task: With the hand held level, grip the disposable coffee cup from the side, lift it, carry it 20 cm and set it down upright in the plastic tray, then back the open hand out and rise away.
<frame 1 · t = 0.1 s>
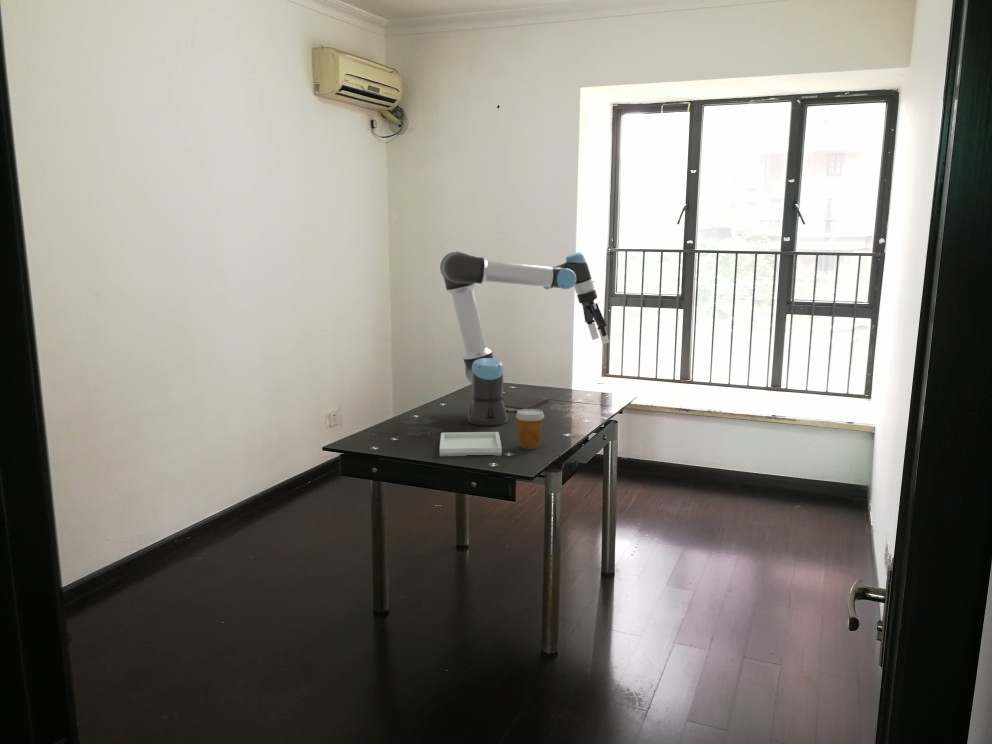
hand: (600, 341, 304), 28 cm above the table, tool tilted 20°, fingers open, 13 cm apart
tray: (470, 447, 252), on the table
disposable coffee cup: (529, 447, 253), on the table
hardcover book: (520, 407, 314), on the table
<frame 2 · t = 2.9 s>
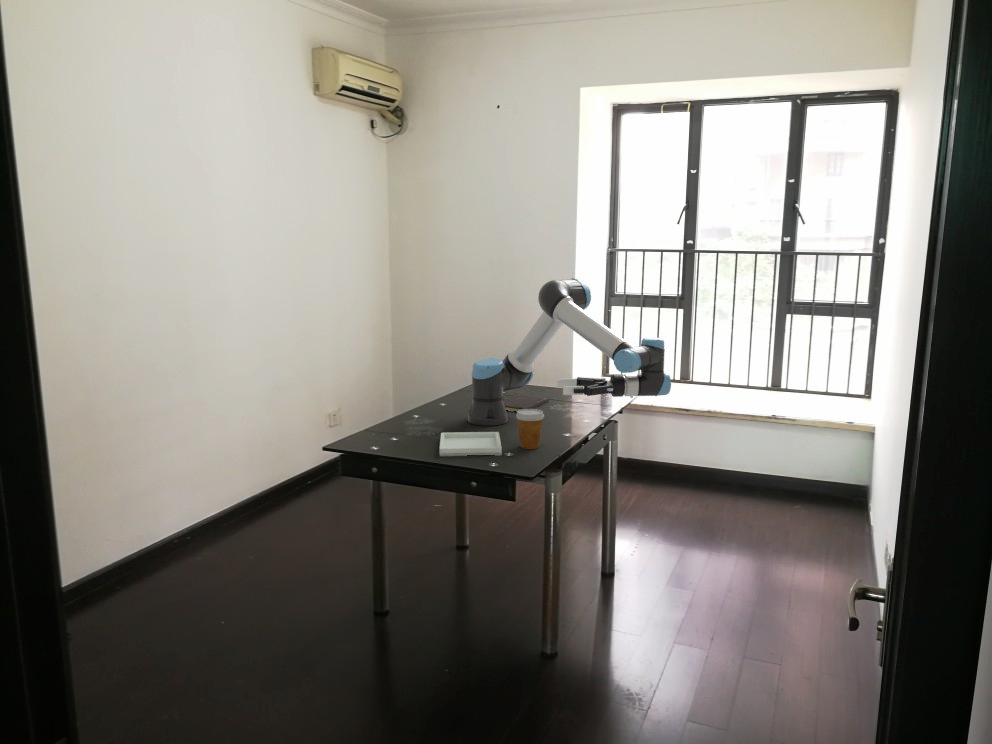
hand: (560, 386, 250), 20 cm above the table, tool horizontal, fingers open, 13 cm apart
nothing on the table moved.
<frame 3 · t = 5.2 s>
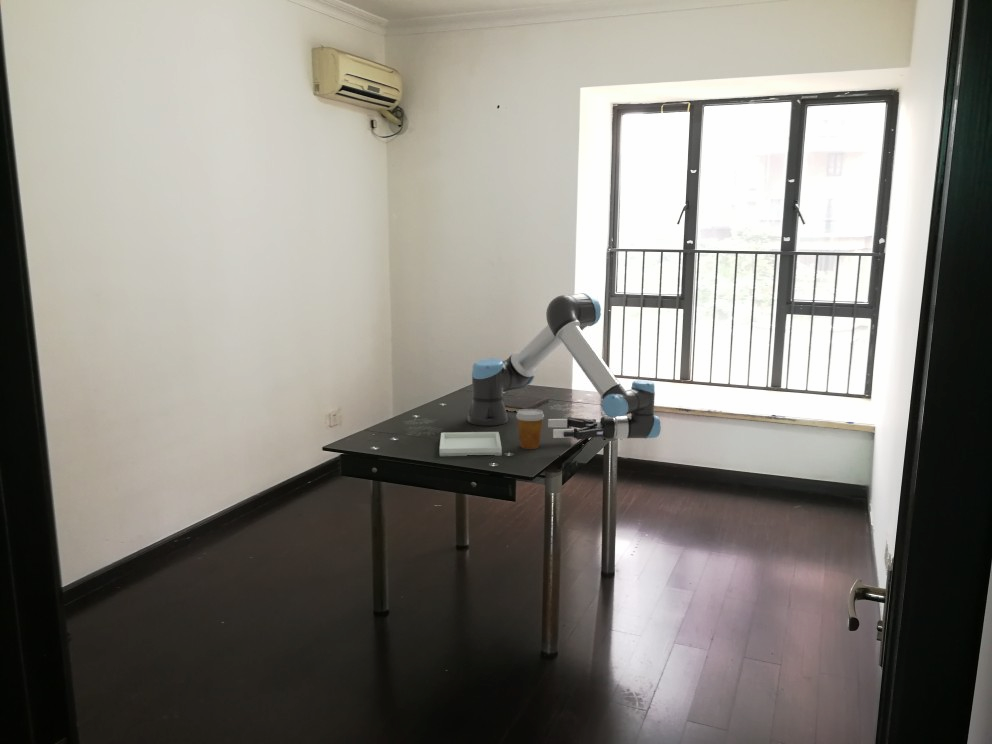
hand: (550, 428, 252), 6 cm above the table, tool horizontal, fingers open, 13 cm apart
nothing on the table moved.
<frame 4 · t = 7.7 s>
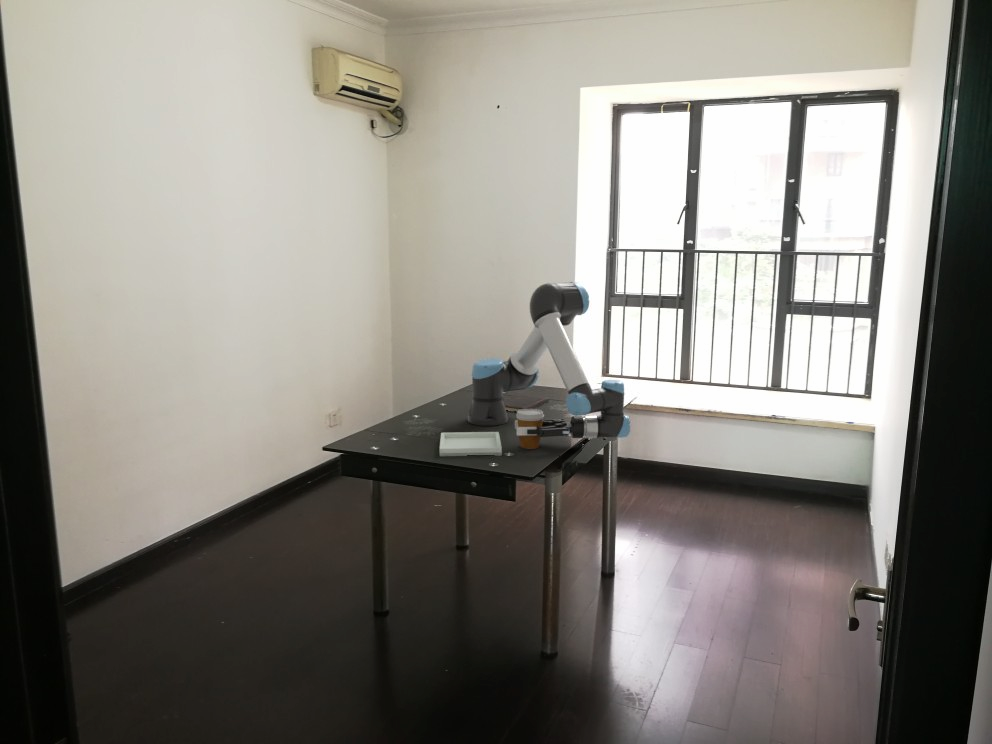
hand: (515, 427, 251), 7 cm above the table, tool horizontal, fingers closed on disposable coffee cup, 8 cm apart
disposable coffee cup: (529, 447, 253), on the table, touching gripper
everything else where it was.
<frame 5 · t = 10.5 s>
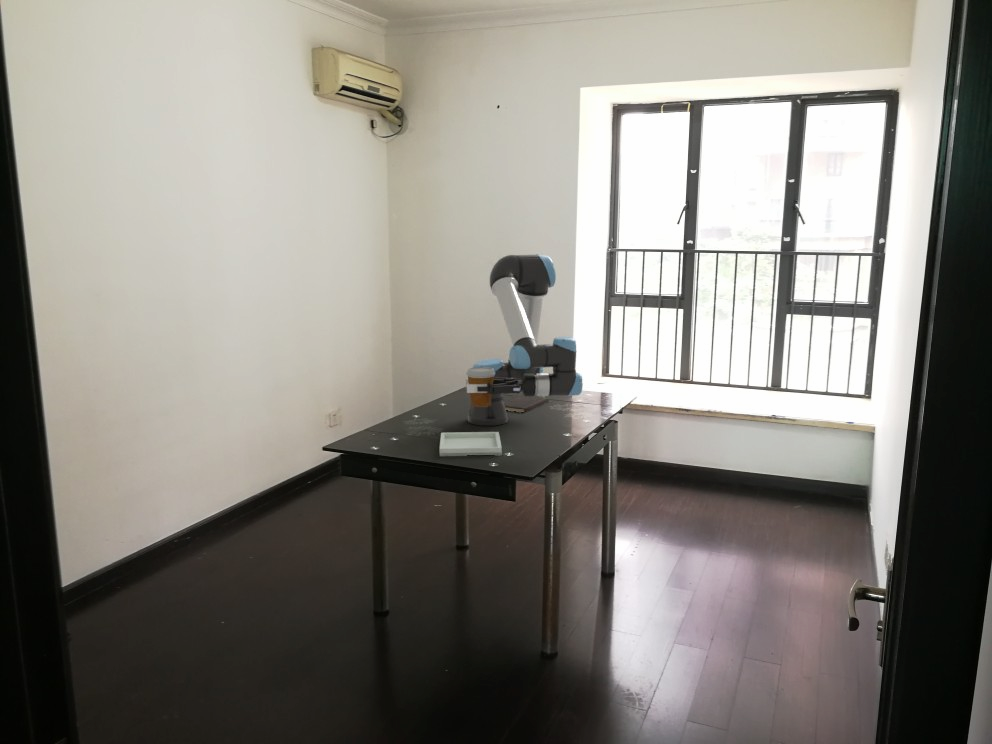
hand: (466, 385, 247), 21 cm above the table, tool horizontal, fingers closed on disposable coffee cup, 8 cm apart
disposable coffee cup: (480, 405, 248), point 15 cm above the table, touching gripper
everything else where it was.
when the fingers open (9 cm above the table, at t = 13.6 s): disposable coffee cup drops 1 cm, resting on tray.
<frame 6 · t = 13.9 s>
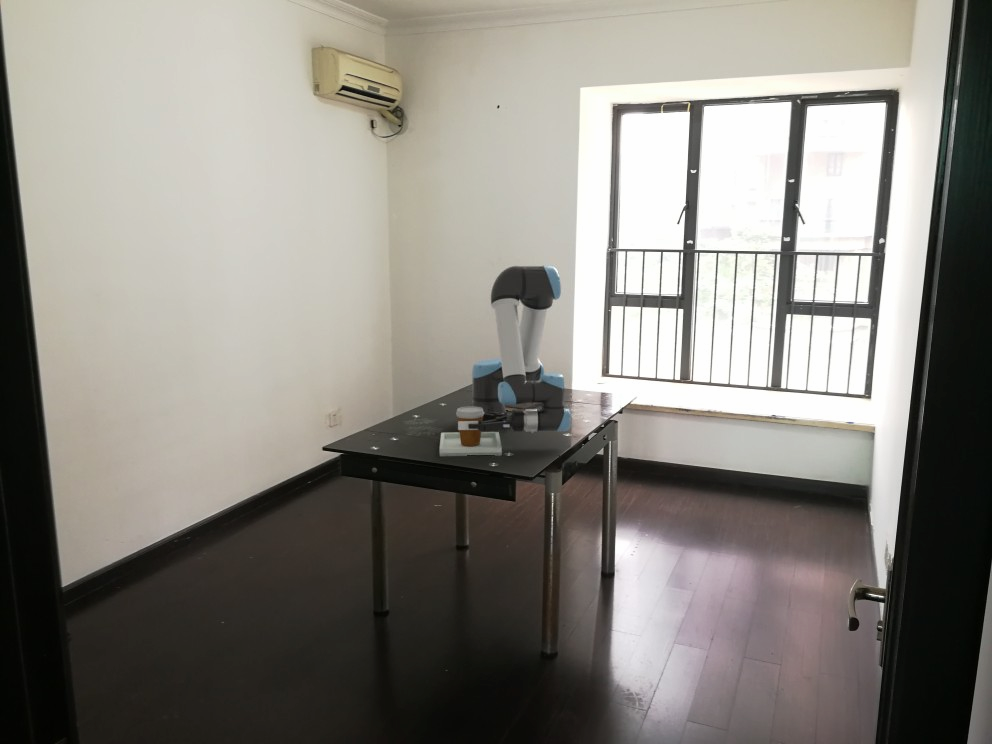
hand: (458, 421, 250), 9 cm above the table, tool horizontal, fingers open, 11 cm apart
disposable coffee cup: (470, 444, 252), point 1 cm above the table, touching tray
everything else where it was.
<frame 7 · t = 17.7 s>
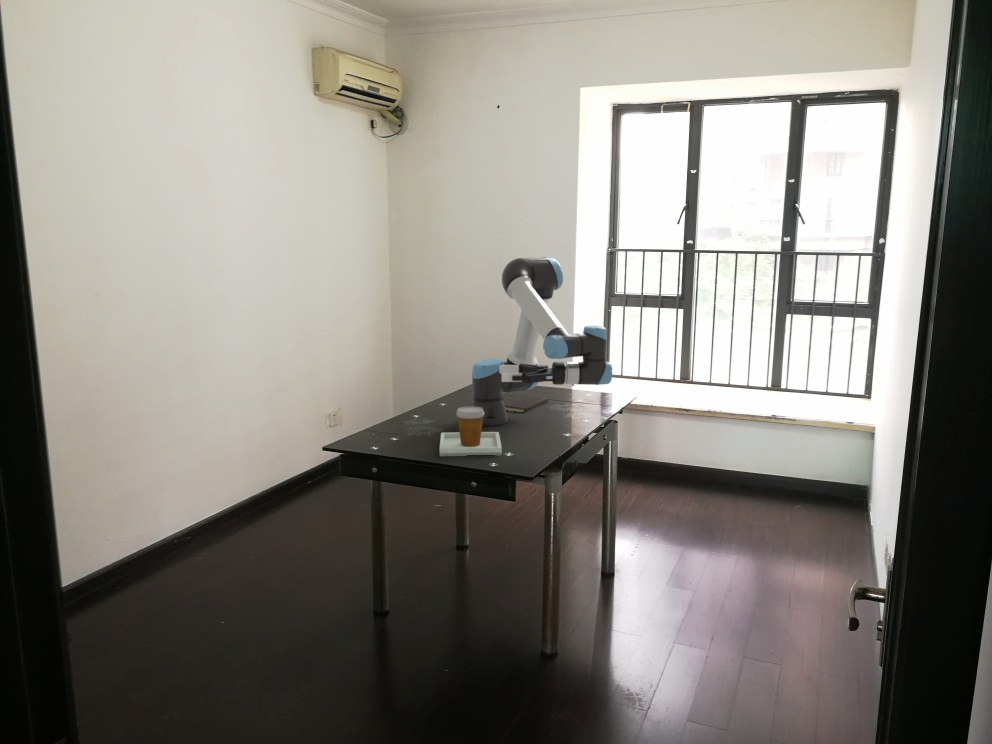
hand: (500, 373, 247), 25 cm above the table, tool horizontal, fingers open, 13 cm apart
nothing on the table moved.
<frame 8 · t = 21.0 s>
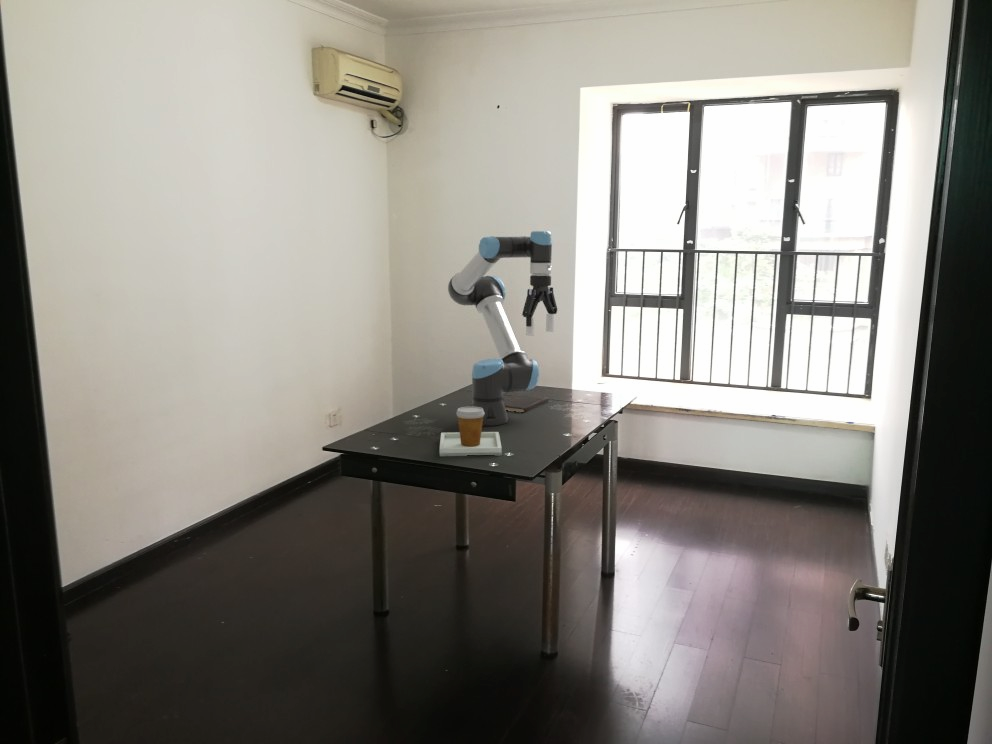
hand: (540, 333, 273), 35 cm above the table, tool pointing down, fingers open, 13 cm apart
nothing on the table moved.
at the end: disposable coffee cup inside the target area on the tray (0.2 cm from its centre), point 0.8 cm above the tray's base; disposable coffee cup tilted 0°; the gripper is holding nothing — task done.
